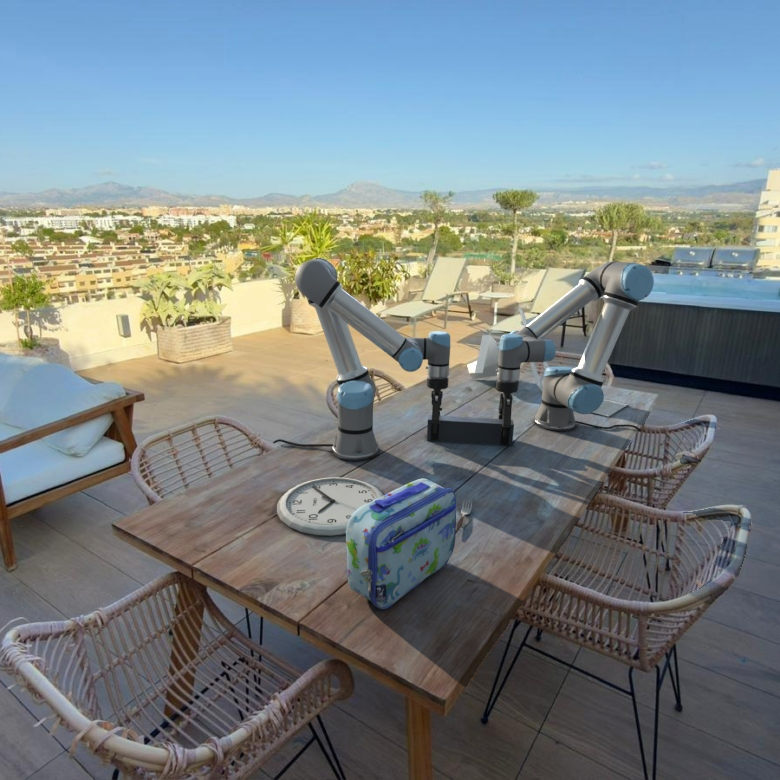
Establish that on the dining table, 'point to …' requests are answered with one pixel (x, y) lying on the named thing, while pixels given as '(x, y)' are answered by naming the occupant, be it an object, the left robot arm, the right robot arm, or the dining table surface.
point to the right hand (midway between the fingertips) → (502, 438)
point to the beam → (469, 430)
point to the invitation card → (609, 408)
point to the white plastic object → (495, 358)
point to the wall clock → (324, 504)
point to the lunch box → (400, 540)
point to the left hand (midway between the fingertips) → (435, 434)
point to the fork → (464, 512)
